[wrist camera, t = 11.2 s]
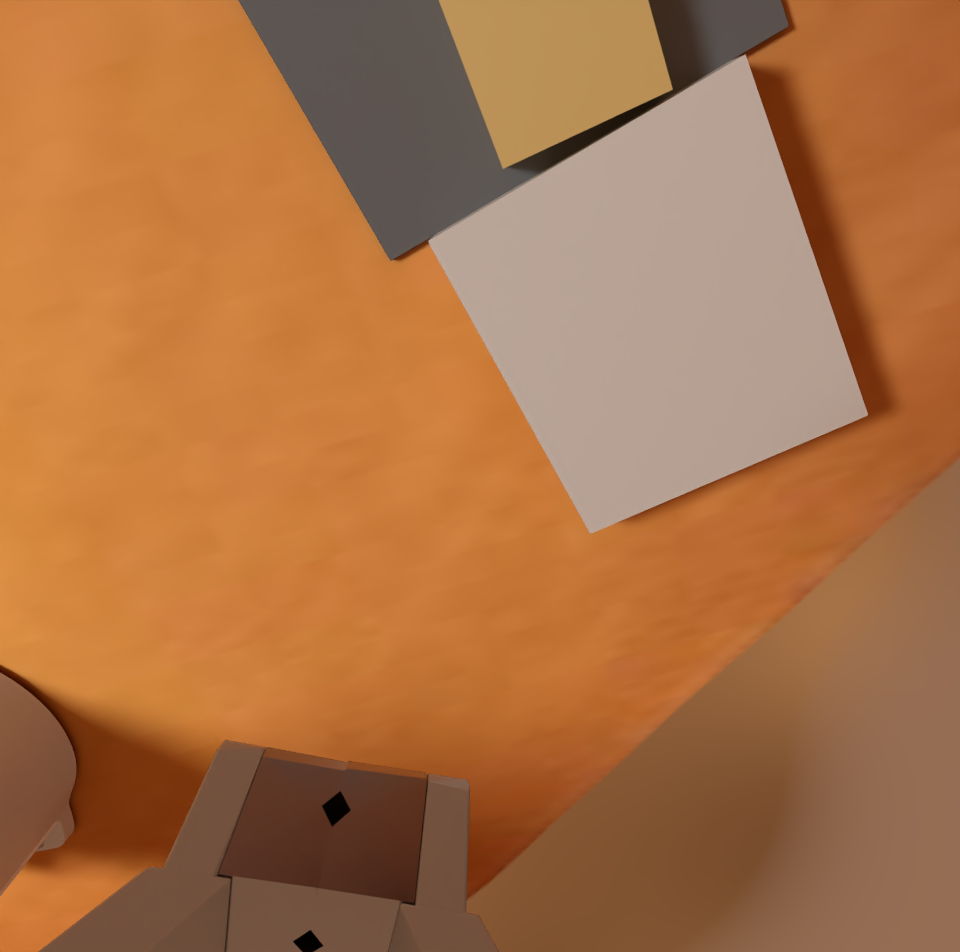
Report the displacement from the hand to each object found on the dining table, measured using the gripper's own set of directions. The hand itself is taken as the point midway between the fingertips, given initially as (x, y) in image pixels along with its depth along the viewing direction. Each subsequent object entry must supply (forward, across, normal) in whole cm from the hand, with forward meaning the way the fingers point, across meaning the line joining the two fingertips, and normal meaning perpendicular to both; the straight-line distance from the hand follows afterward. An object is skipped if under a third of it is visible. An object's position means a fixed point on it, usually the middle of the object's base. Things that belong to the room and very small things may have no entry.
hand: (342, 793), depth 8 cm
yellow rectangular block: (+22, -1, -12) cm, 25 cm away
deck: (+22, -8, -3) cm, 24 cm away
